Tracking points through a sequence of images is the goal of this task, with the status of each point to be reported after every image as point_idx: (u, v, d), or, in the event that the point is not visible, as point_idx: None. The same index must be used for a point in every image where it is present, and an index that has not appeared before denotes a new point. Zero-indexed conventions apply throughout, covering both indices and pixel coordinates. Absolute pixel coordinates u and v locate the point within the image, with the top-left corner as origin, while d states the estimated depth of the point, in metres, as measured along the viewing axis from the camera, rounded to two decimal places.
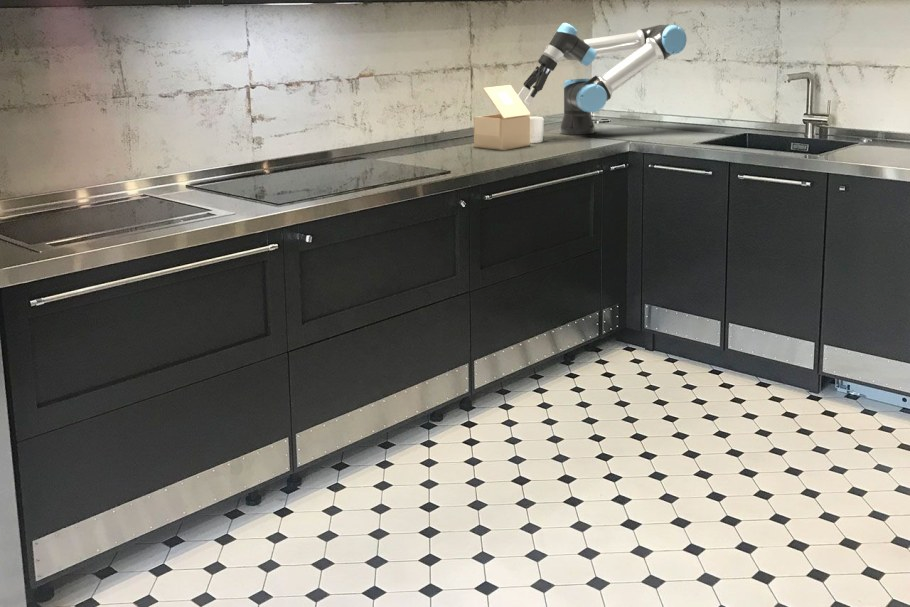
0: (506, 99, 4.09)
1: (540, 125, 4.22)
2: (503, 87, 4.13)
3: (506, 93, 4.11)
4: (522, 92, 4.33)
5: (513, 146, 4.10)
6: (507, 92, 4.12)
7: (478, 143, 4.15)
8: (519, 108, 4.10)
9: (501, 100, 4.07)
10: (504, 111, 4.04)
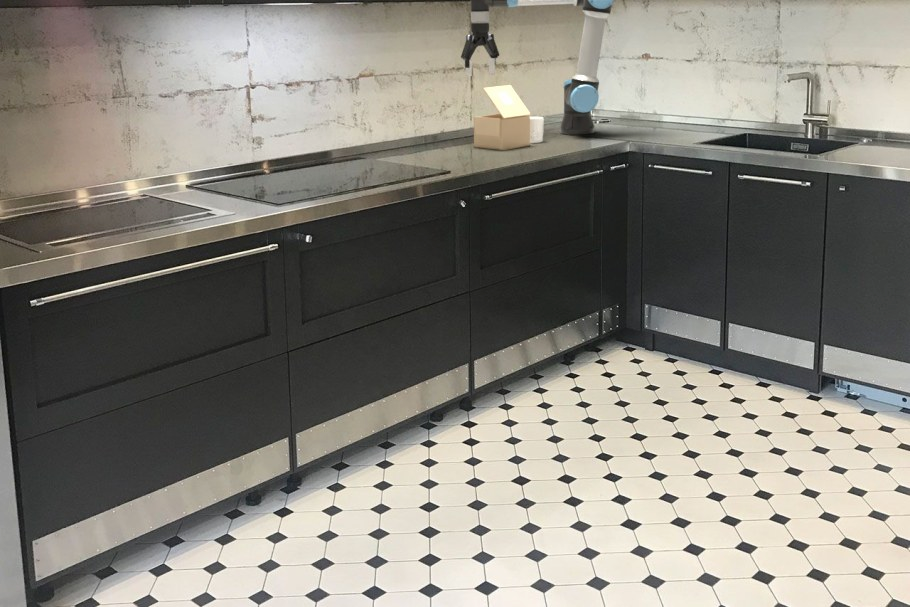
0: (506, 99, 4.09)
1: (540, 125, 4.22)
2: (503, 87, 4.13)
3: (506, 93, 4.11)
4: (490, 64, 4.32)
5: (513, 146, 4.10)
6: (507, 92, 4.12)
7: (478, 143, 4.15)
8: (519, 108, 4.10)
9: (501, 100, 4.07)
10: (504, 111, 4.04)
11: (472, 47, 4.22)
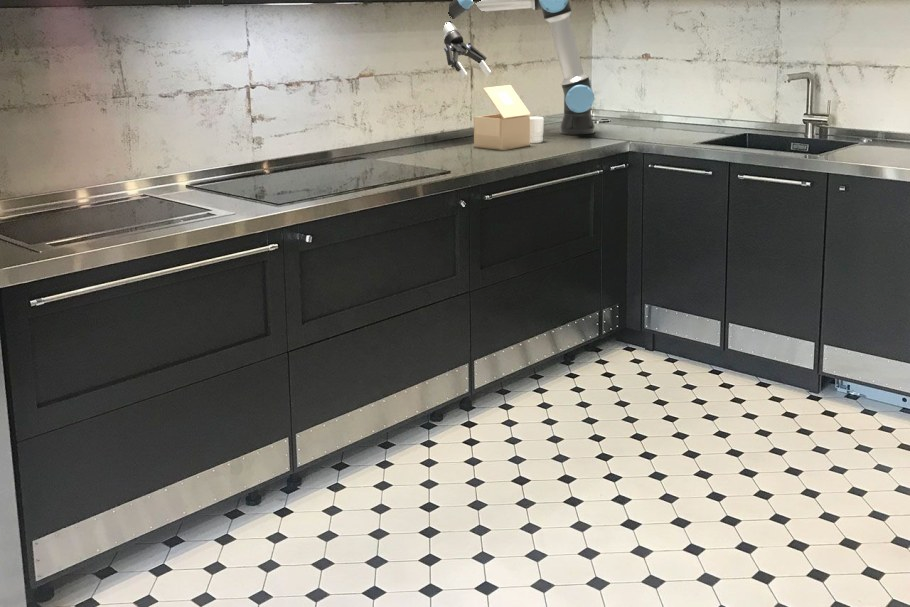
0: (506, 99, 4.09)
1: (540, 125, 4.22)
2: (503, 87, 4.13)
3: (506, 93, 4.11)
4: (482, 68, 4.24)
5: (513, 146, 4.10)
6: (507, 92, 4.12)
7: (478, 143, 4.15)
8: (519, 108, 4.10)
9: (501, 100, 4.07)
10: (504, 111, 4.04)
11: (454, 54, 4.18)
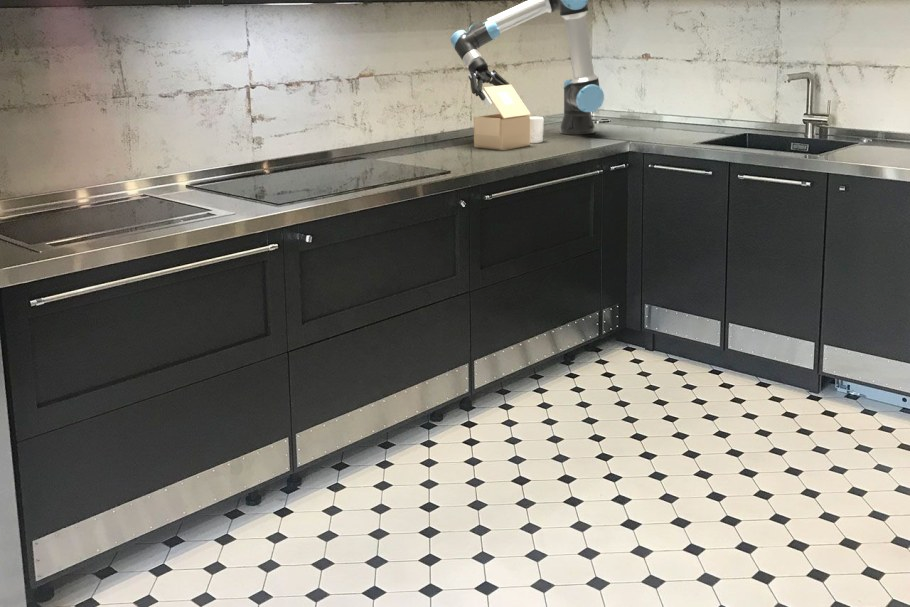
0: (507, 99, 4.09)
1: (540, 125, 4.22)
2: (503, 87, 4.13)
3: (506, 93, 4.11)
4: None
5: (513, 146, 4.10)
6: (507, 92, 4.12)
7: (478, 143, 4.15)
8: (519, 108, 4.10)
9: (501, 100, 4.07)
10: (504, 111, 4.04)
11: (479, 82, 4.09)
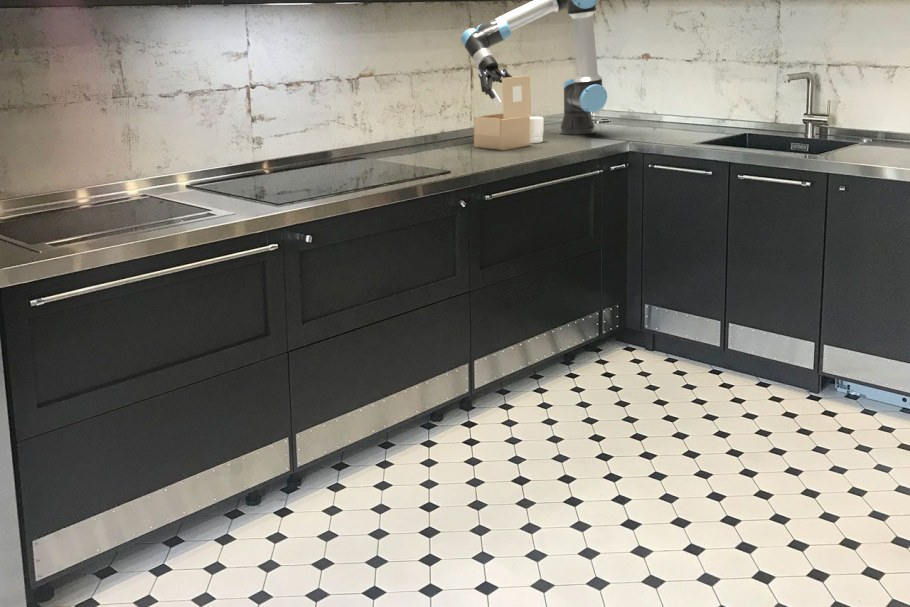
0: (517, 95, 4.04)
1: (540, 125, 4.22)
2: (521, 78, 4.05)
3: (520, 87, 4.05)
4: None
5: (513, 146, 4.10)
6: (522, 85, 4.05)
7: (478, 143, 4.15)
8: (524, 107, 4.08)
9: (511, 95, 4.02)
10: (508, 111, 4.03)
11: (489, 81, 4.05)
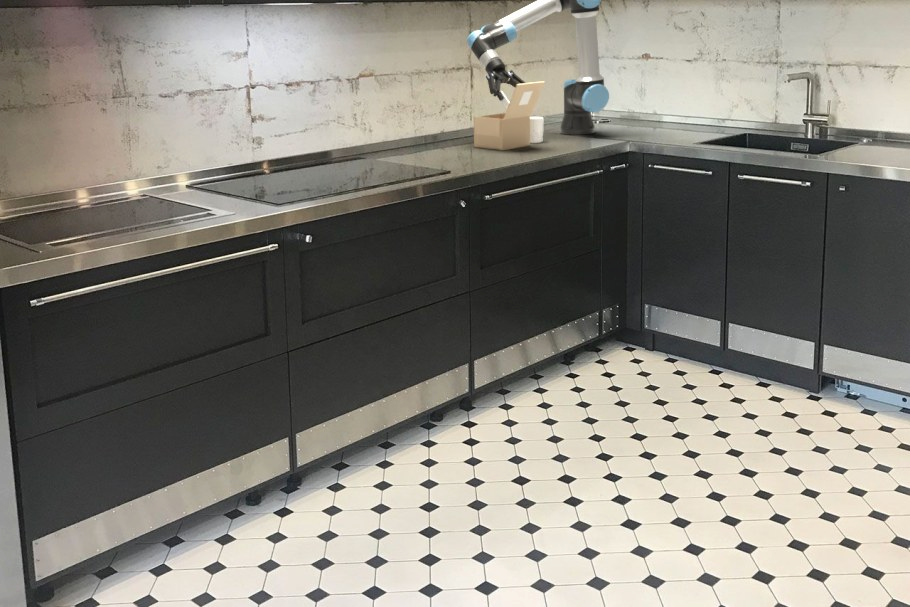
0: (525, 99, 4.02)
1: (540, 125, 4.22)
2: (535, 84, 4.00)
3: (531, 92, 4.01)
4: None
5: (513, 146, 4.10)
6: (533, 90, 4.02)
7: (478, 143, 4.15)
8: (527, 109, 4.07)
9: (519, 99, 4.00)
10: (511, 112, 4.02)
11: (497, 82, 4.04)
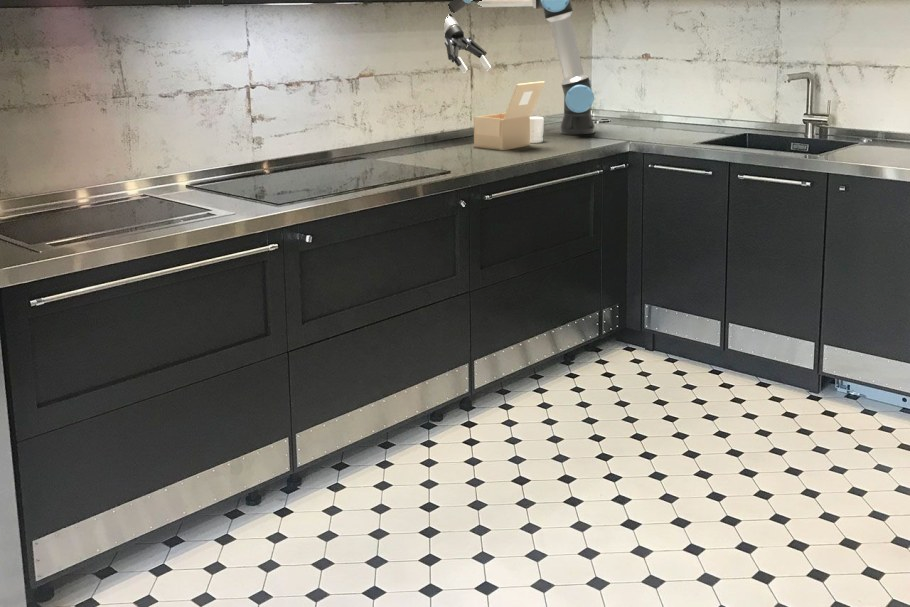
0: (525, 99, 4.02)
1: (540, 125, 4.22)
2: (535, 84, 4.00)
3: (531, 92, 4.01)
4: (482, 63, 4.24)
5: (513, 146, 4.10)
6: (533, 90, 4.02)
7: (478, 143, 4.15)
8: (527, 109, 4.07)
9: (519, 99, 4.00)
10: (511, 112, 4.02)
11: (455, 49, 4.18)
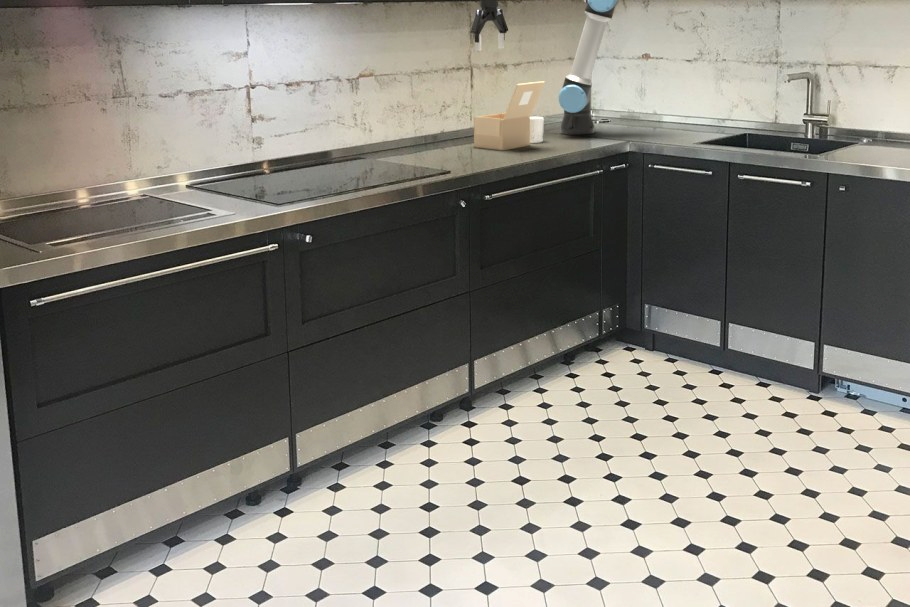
0: (525, 99, 4.02)
1: (540, 125, 4.22)
2: (535, 84, 4.00)
3: (531, 92, 4.01)
4: (499, 39, 4.39)
5: (513, 146, 4.10)
6: (533, 90, 4.02)
7: (478, 143, 4.15)
8: (527, 109, 4.07)
9: (519, 99, 4.00)
10: (511, 112, 4.02)
11: (481, 22, 4.29)
